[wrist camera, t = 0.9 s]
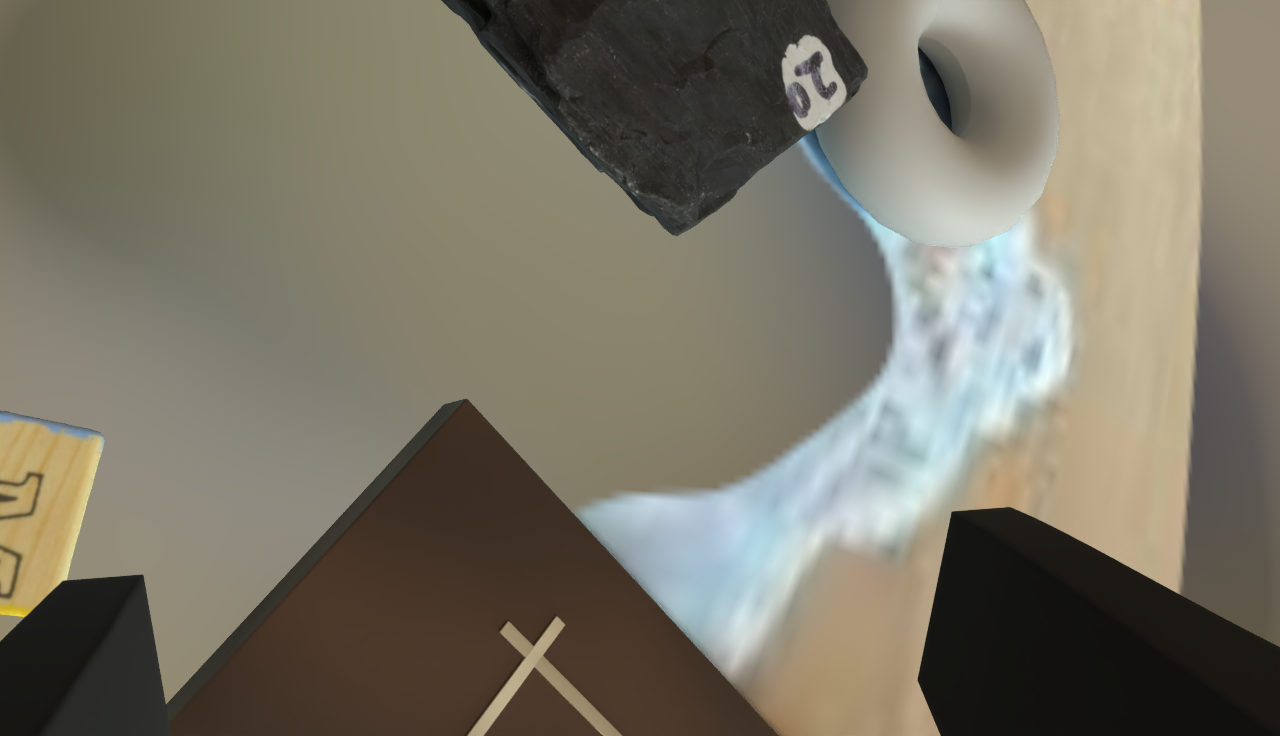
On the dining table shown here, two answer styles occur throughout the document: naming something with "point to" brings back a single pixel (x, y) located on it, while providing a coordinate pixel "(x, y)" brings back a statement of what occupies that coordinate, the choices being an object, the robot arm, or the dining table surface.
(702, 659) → the board
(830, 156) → the donut
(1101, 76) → the dining table surface
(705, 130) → the mineral
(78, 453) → the alphabet block
